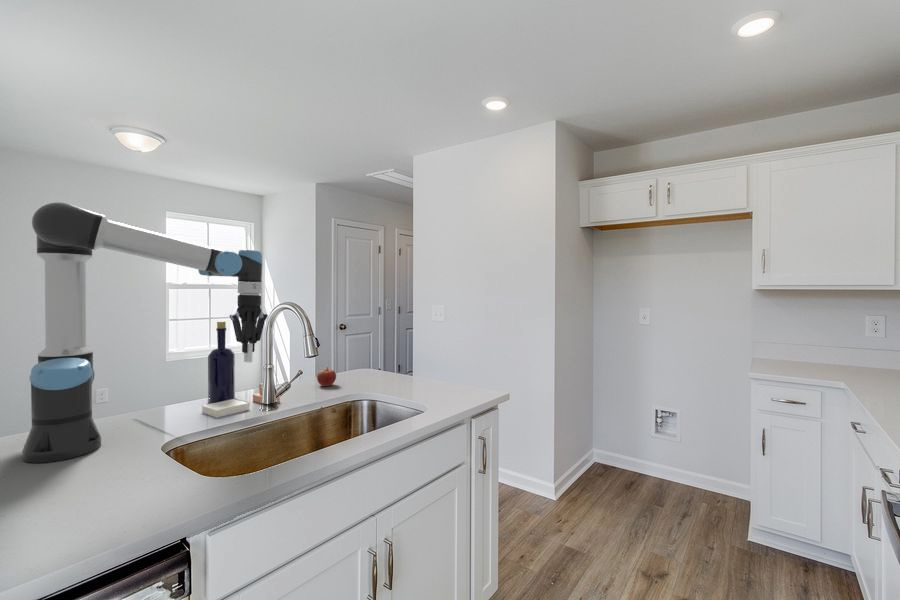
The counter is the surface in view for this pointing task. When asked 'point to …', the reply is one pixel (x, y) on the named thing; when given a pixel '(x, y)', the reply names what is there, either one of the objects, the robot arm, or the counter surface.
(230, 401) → the cream rectangular slab
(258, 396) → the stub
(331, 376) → the apple
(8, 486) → the counter surface
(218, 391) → the bottle
